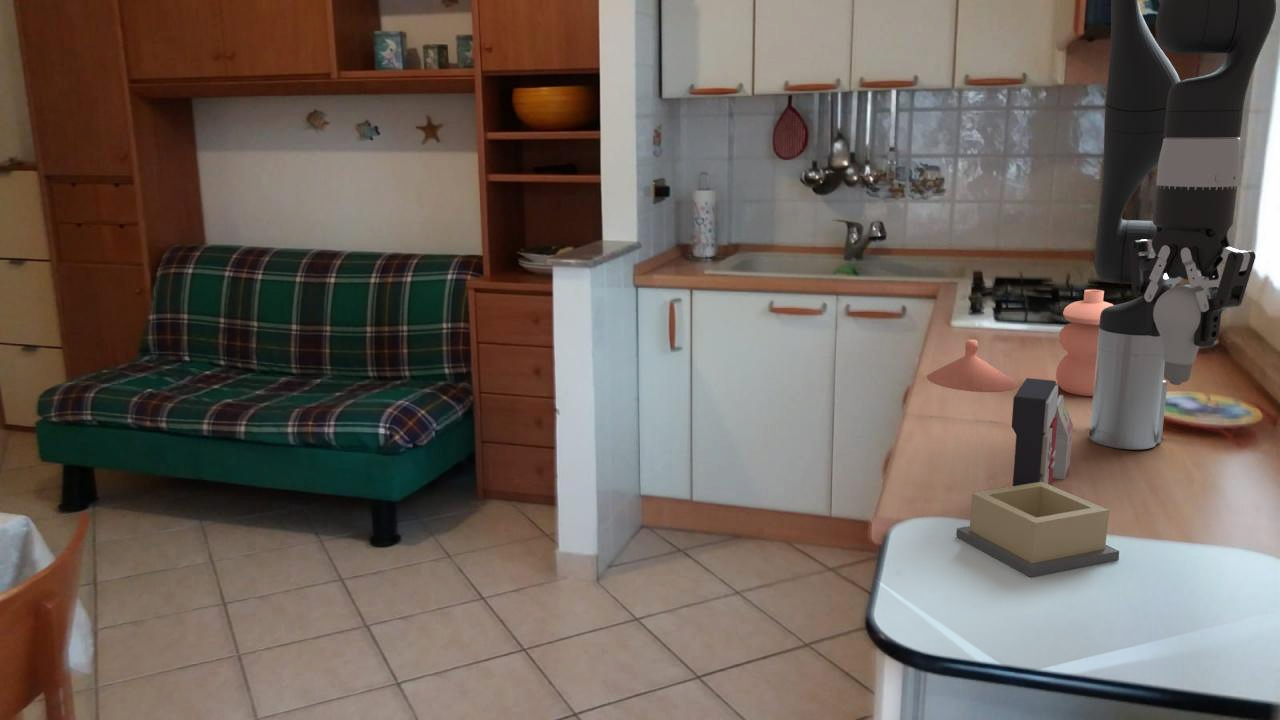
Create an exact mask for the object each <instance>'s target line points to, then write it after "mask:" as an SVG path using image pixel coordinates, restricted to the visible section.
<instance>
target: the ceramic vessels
mask: <svg viewBox="0 0 1280 720" xmlns="http://www.w3.org/2000/svg"><path fill="white" fill-rule="evenodd" d="M1104 294H1105V290H1101V289H1084V293H1083V300H1078V301H1074V302H1072V303H1070V304H1067V306H1065V307H1064V309H1063V312H1062V315H1063V317H1064V318H1065V320H1066V321H1068V322H1069V323H1067V324H1064V326H1063V327H1062V328H1061V329H1060V332H1059V335H1058V337H1059V338H1058V339H1059V343H1060V345H1061V347H1062V348H1063V350H1065V351H1066V352H1067V354H1066V355H1065V356H1063V357H1062V359H1061V360H1060V361H1059V363H1058V365H1057V368H1056V371H1055V379H1056V380H1055V381H1056V383H1057V385H1058V387H1060V388H1061V390H1062V391H1063V392H1065V393H1068V394H1071V395H1072V394H1073V395H1078V396H1085V397H1093V391H1094V380H1095V369H1096V358H1097V348H1098V347H1097V346H1098V335H1099V324H1100V315H1101V312H1102V311H1103V310H1104V309H1105V308H1107V307H1110V306H1113V305H1114V304H1113V303H1110V302H1107V301H1104V296H1105V295H1104ZM964 348H965V351H964V352H965V354H964V356H962V357H960V358H958V359H956V360H954V361H952V362H950V363H948V364H946V365H944V366H942V367H940V368H938V369H935V370H934V371H932V372H930V373H928V374H927V375H926V379H927V380H928V381H929V382H931V383H932V384H935V385H937V386H941V387H943V388H947V389H953V390H957V391H963V392H964V391H965V392H971V393H972V392H973V393H1003V392H1009V391H1013V390H1015V389H1017V388H1018V386H1019V385H1018V382H1016V380H1014V379H1012V378H1011V377H1009V376H1008V375H1006V374H1004V372H1001V371H1000V370H998V369H996V368H995V367H994V366H992V365H991V364H989V363H987V362H986V361H984V360H983V359H982V358H980V357H978V349H979V345H978V340H977V339H966V340H965V346H964Z"/></svg>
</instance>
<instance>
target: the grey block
mask: <svg viewBox="0 0 1280 720" xmlns="http://www.w3.org/2000/svg"><path fill="white" fill-rule="evenodd" d="M1054 417H1057V430H1056V442H1055V451H1056V453H1055V456H1054V461H1055V464H1054V467H1053V479H1057V480H1065V479H1066V476H1067V473H1068V470H1069V468H1070V464H1071V453H1072V452H1071V451H1072V441H1073V440H1072V438H1073V429H1074V428H1073V427H1074V424H1073V421H1072V419H1071V417H1070V415H1069V411H1068V409H1067V406H1066V404H1065V400H1064V394H1059V396H1058V397H1057V410H1056V414H1055V416H1054Z"/></svg>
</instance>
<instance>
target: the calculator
mask: <svg viewBox="0 0 1280 720" xmlns="http://www.w3.org/2000/svg"><path fill="white" fill-rule="evenodd" d="M1058 395H1059V385H1058V384H1057V380H1049V379H1041V378H1040V379H1038V378H1028V377H1027V378H1025V380H1024V381H1023V383H1022V384H1021V386H1020V387H1019V389H1018V390H1017V391H1016V393H1015V395H1014V396H1013V399H1012V400H1013V403H1012V414H1011V415H1012V417H1011V429H1012V430H1013V432H1014V433H1015V445H1014V446H1015V449H1014V461H1013V463H1014V464H1013V475H1012V486H1018V485H1024V484H1030V483H1037V482H1044V483H1046V484H1049V485H1051V486H1053V479H1054V478H1053V467H1054V464H1055V461H1054V456H1055V453H1056V451H1055V442H1056V430H1057V417H1054V416H1055V414H1056V410H1057V400H1058V398H1059V396H1058Z"/></svg>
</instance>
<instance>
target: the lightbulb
mask: <svg viewBox="0 0 1280 720" xmlns="http://www.w3.org/2000/svg"><path fill="white" fill-rule="evenodd" d="M1209 295H1210V294H1209ZM1210 299H1211V298H1210ZM1201 312H1202V311H1201V310H1200V309H1199V306H1198V302H1197V298H1196V294H1195V292H1194V291H1192V290H1191V288H1190V284H1183V285H1182V284H1181V285H1175V287H1173V288H1171V289H1169V290H1167V291H1165V292H1164V293H1163V294H1162V295H1161V296H1160V297H1159V298H1158V300H1157V302H1156V304H1155V307H1154V311H1153V317H1154V322H1155V324H1156V327H1157V329H1158V331H1159V334H1160V336H1161V339H1162V343H1163V359H1164V360H1165V365H1164V375H1163V379H1165V381H1168V382H1169V383H1170V384H1171V385H1174V386H1180V385H1182V384H1183V383H1186V382H1188V381H1189V380H1190V379H1191V377H1190V376H1191V373H1192V369H1193V364H1194V363H1195V361H1196V359H1197V354H1198V351H1199V349H1200V346H1196V345H1194V335H1195V332H1196V330H1197V329H1198V326H1199V323H1200V319H1201Z"/></svg>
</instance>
